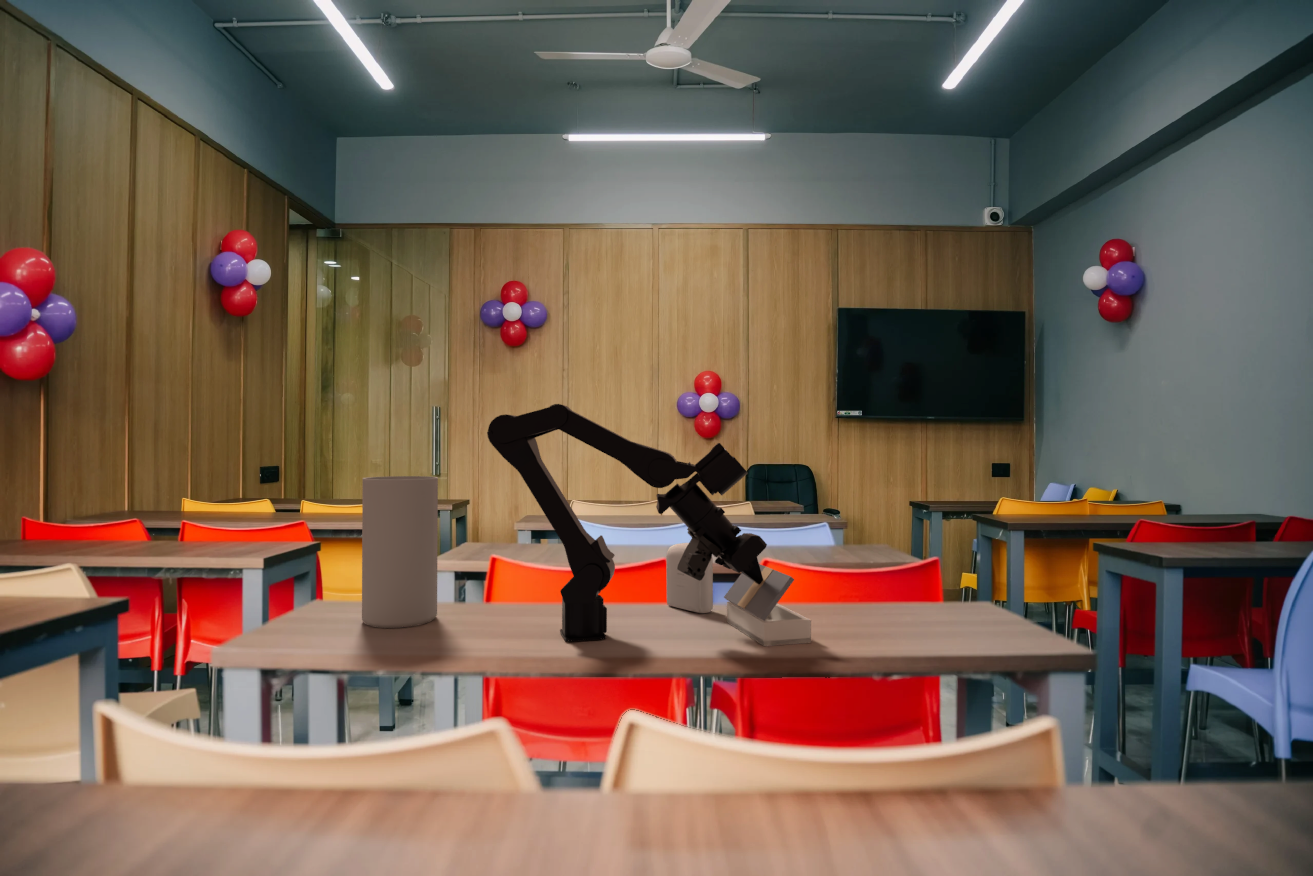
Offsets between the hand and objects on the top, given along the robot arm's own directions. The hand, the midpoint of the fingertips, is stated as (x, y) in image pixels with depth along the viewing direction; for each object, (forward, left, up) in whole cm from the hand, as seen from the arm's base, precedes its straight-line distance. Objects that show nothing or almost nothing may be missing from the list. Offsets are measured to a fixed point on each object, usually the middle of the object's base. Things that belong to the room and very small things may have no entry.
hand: (760, 582), depth 125 cm
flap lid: (0, +1, -1) cm, 2 cm away
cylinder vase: (-58, +25, -9) cm, 63 cm away
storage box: (+1, +1, -8) cm, 9 cm away
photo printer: (-6, +21, -9) cm, 23 cm away
